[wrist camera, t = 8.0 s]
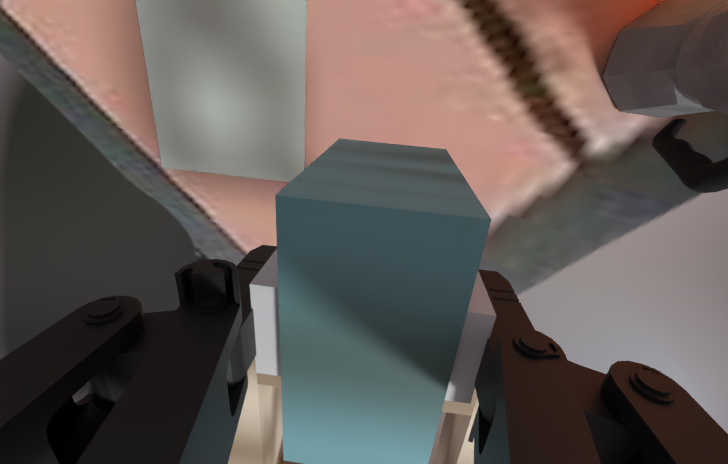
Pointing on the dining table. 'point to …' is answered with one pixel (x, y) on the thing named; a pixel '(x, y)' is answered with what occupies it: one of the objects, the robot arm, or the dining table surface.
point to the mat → (228, 84)
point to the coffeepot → (675, 78)
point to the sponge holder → (368, 312)
